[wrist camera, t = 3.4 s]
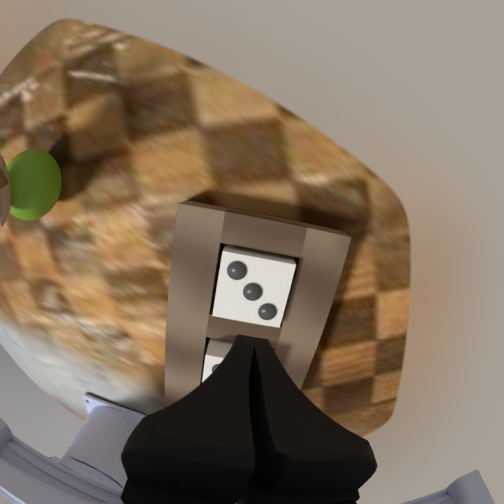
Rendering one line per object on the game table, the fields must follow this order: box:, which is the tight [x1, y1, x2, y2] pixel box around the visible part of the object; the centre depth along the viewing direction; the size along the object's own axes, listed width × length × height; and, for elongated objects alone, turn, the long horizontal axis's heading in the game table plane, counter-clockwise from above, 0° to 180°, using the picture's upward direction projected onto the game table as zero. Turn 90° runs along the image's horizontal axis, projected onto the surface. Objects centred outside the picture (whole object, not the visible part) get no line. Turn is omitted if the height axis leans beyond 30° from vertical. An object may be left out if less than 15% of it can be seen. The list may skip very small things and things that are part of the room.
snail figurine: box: [0, 149, 62, 227], centre depth 12 cm, size 5×6×12 cm
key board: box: [165, 200, 352, 408], centre depth 21 cm, size 23×11×2 cm, turn 169°
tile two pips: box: [202, 338, 234, 382], centre depth 20 cm, size 4×4×3 cm
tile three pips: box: [212, 244, 296, 328], centre depth 19 cm, size 4×4×3 cm
